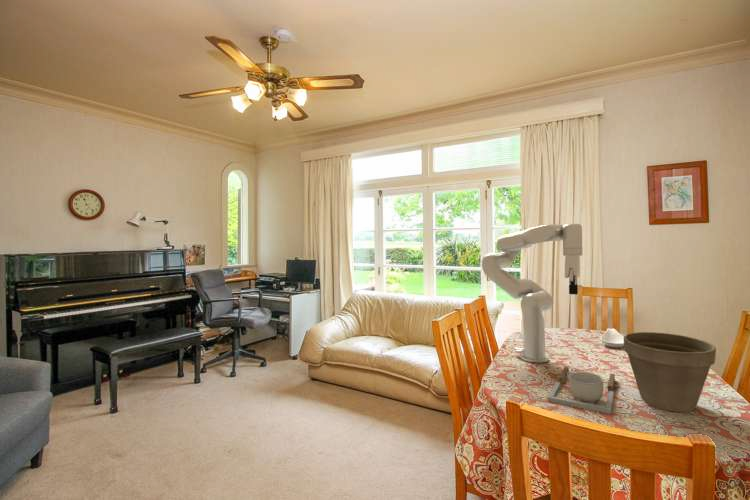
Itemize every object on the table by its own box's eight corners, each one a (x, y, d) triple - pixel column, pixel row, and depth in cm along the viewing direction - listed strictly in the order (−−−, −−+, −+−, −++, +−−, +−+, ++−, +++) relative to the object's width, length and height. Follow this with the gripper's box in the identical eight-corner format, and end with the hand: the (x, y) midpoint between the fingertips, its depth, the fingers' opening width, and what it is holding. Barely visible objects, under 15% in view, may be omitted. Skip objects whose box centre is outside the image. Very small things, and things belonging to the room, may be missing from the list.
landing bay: (547, 401, 132) (547, 397, 132) (556, 385, 145) (556, 381, 145) (610, 414, 121) (610, 409, 121) (613, 395, 134) (613, 391, 134)
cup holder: (558, 383, 147) (558, 377, 147) (564, 372, 159) (564, 366, 159) (612, 393, 137) (612, 386, 137) (614, 380, 149) (614, 374, 149)
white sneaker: (628, 350, 188) (628, 336, 187) (601, 348, 193) (601, 334, 193) (621, 339, 209) (621, 326, 209) (597, 337, 214) (597, 325, 214)
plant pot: (726, 428, 110) (725, 355, 110) (626, 410, 123) (625, 345, 123) (707, 397, 131) (706, 336, 131) (623, 384, 144) (622, 329, 144)
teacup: (610, 404, 128) (610, 381, 128) (580, 406, 127) (579, 382, 127) (586, 388, 142) (585, 367, 141) (558, 390, 141) (558, 369, 141)
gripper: (565, 251, 170) (566, 291, 171) (560, 252, 158) (561, 295, 158) (584, 251, 166) (585, 292, 166) (580, 252, 154) (581, 296, 154)
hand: (573, 294), depth 162 cm, fingers closed
